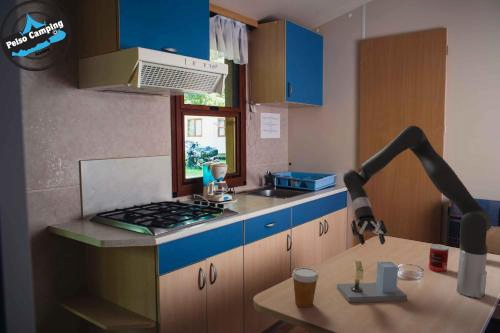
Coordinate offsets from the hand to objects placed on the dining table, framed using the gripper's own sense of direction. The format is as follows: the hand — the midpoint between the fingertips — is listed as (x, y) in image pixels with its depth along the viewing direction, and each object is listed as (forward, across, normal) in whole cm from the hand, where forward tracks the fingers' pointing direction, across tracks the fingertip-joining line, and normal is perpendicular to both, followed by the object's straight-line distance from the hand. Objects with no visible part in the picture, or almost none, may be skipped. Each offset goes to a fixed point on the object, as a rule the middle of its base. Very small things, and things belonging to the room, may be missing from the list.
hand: (373, 243), depth 160 cm
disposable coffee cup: (+23, -33, +2) cm, 40 cm away
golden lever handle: (+20, -12, +1) cm, 23 cm away
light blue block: (+17, +2, +4) cm, 18 cm away
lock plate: (+19, -4, +6) cm, 20 cm away
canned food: (+3, +39, +22) cm, 45 cm away
